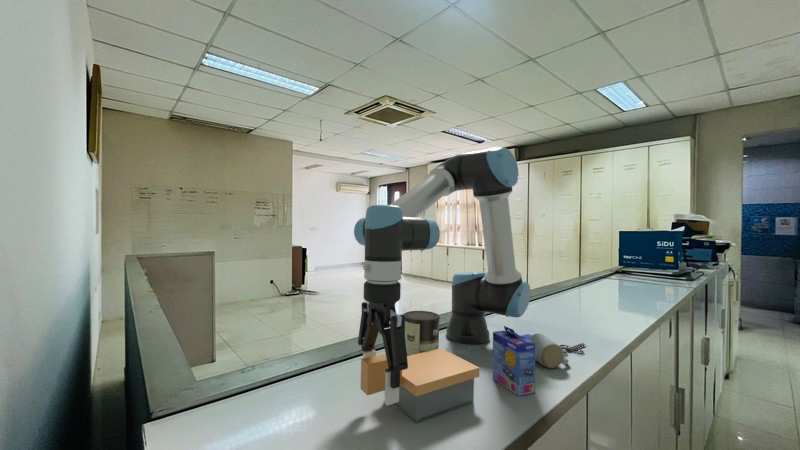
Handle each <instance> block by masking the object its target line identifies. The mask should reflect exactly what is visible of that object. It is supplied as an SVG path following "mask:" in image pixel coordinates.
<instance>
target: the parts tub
mask: <svg viewBox="0 0 800 450" xmlns="http://www.w3.org/2000/svg"><path fill="white" fill-rule="evenodd" d="M474 388H475V378H473V379H470V380H467V381H464V382H460V383H457V384H454V385H451V386H448V387H445V388H442V389H438V390H435V391H432V392H429V393H426V394H423V395H419V396H415V395H414V394H412V393H411V392H410V391H408V390H407V389H406V388H405V387H403V386H399V402H397V403H393V404H395V406H397V407H398V409H400V410H401V411H402V412H403V413H405V415H407V416H408V418H410V419H411V420H412V421H414V423H416V424H419V423H421V422H423V421H426V420H428V419H431V418H434V417H437V416H440V415H442V414H445V413H448V412H450V411H453V410H455V409H458V408H461V407H464V406H466V405H467V406H468V405H469V404H471V403H474V399H475V398H474V395H475V394H474V393H475V392H474V391H475V390H474Z"/></svg>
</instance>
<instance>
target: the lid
mask: <svg viewBox="0 0 800 450" xmlns="http://www.w3.org/2000/svg"><path fill="white" fill-rule="evenodd" d="M360 359H361V360H360V390H361V391H362V392H363V393H364V394H365V395H366V396H371V395H373V394H377V393H380V392H385V379H386V371H385V369H389V368H388V363H387V358H386V353H382V354H376V356H372V357H368V358H363V357H362V358H360ZM407 361H408V368H407V369H405V370H401V371H400V386H403V387H405V388H406V389H407V390H408V391H410V392H411V393H412V394H414V395H415V396H419V395H423V394H426V393H429V392H432V391H435V390H438V389H442V388H445V387H448V386H451V385H454V384H457V383H460V382H464V381H467V380H470V379H473V378H474V379H476V378H478V377H479V378H480V367H479V366H477V365H475V364H473V363H471V362H470V361H467V360H465V359H464V358H461V357H460V356H457V355H455V354H454V353H452V352H450V351H448V350H445V349H444V348H442V347H440V348H438V349H436V350H431V351H427V352H423V353H418V354H414V355H410V356H407Z"/></svg>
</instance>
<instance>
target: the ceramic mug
mask: <svg viewBox="0 0 800 450" xmlns="http://www.w3.org/2000/svg"><path fill="white" fill-rule="evenodd" d="M531 335H532V336H531V337H530V338H529V340H532V341H534V342H535V362H537V363H539V364H541V365H542V366H543V367H546V368H548V369H555V368H557V367H559V366H560V365H561V364H562V365H565V366H568V363H569V359H568V358H567V357H566V356H563V354H564V353H563V351H564V350H563V349H561V348H560V347H561V346H559V345H560V344H559V345H558V343H556V342H555V341H553V340H552V339H550V338H549V337H548V336H546V335H544V334H542V333H535V334H531Z"/></svg>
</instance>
